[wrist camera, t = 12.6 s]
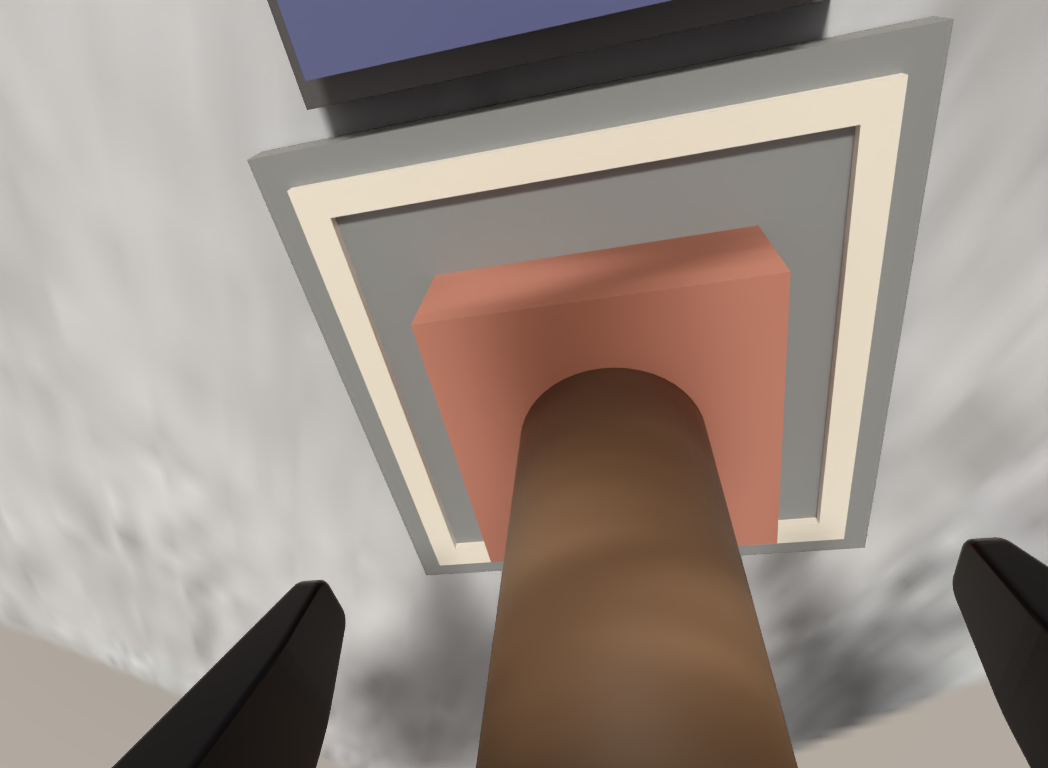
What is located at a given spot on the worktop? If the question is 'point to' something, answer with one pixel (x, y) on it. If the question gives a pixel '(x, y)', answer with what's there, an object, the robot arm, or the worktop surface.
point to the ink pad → (467, 36)
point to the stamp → (621, 494)
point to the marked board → (633, 218)
